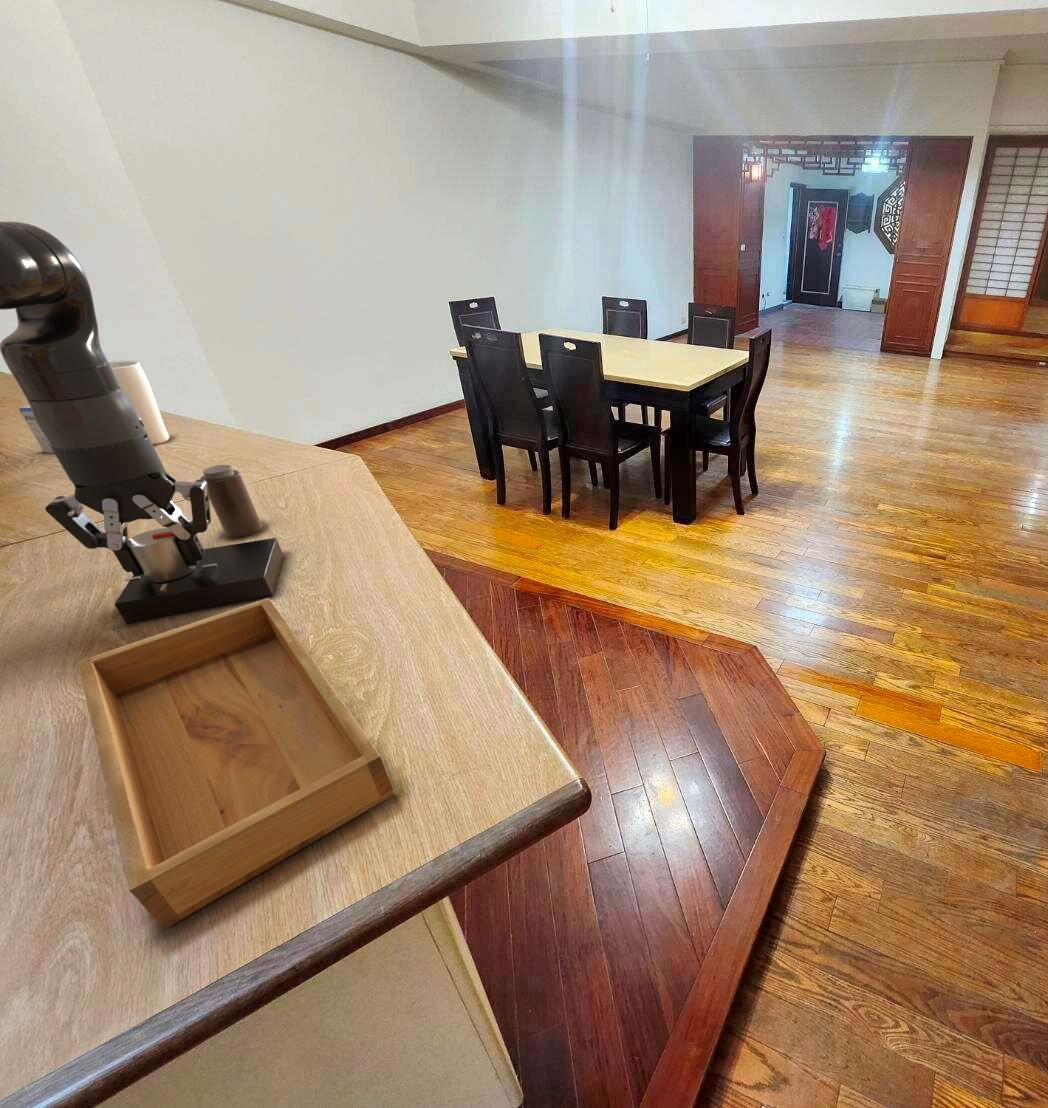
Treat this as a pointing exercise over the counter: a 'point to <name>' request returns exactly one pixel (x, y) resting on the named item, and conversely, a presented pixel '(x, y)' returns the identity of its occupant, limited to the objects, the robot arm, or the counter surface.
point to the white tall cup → (141, 398)
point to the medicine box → (35, 428)
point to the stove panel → (206, 583)
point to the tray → (222, 755)
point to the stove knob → (159, 555)
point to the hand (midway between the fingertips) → (169, 566)
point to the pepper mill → (231, 501)
